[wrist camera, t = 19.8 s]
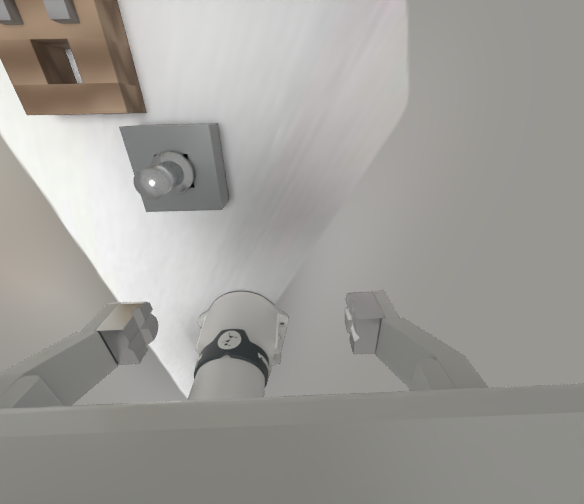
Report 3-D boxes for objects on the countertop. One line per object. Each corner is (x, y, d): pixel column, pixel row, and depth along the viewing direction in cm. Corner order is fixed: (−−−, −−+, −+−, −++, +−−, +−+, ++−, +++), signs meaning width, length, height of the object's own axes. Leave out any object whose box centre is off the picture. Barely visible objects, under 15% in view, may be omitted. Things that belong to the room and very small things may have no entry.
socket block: (146, 112, 34) (120, 112, 29) (58, 114, 34) (15, 115, 29) (101, -60, 27) (53, -105, 21) (-13, -58, 26) (-90, -102, 21)
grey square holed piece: (229, 199, 40) (222, 209, 36) (160, 201, 40) (146, 211, 36) (217, 123, 35) (208, 124, 31) (139, 125, 35) (119, 126, 31)
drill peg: (208, 181, 39) (179, 207, 28) (174, 182, 39) (133, 208, 28) (201, 145, 36) (167, 159, 26) (165, 146, 36) (116, 160, 26)
